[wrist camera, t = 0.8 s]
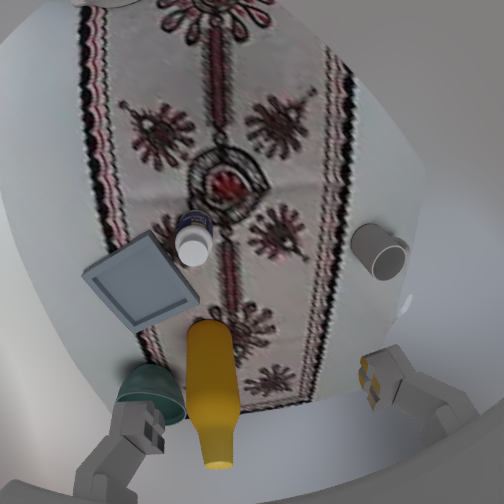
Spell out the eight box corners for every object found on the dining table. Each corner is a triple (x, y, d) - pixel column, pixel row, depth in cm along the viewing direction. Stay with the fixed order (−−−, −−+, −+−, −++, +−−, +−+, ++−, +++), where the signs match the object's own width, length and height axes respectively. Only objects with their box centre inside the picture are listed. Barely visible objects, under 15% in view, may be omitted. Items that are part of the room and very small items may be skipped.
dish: (84, 270, 47) (81, 276, 46) (150, 229, 46) (148, 235, 44) (135, 327, 55) (133, 333, 54) (199, 297, 54) (199, 304, 52)
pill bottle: (209, 205, 45) (209, 232, 37) (214, 236, 48) (217, 267, 40) (175, 212, 45) (169, 239, 37) (183, 241, 48) (178, 274, 39)
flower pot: (195, 365, 63) (196, 404, 54) (174, 398, 69) (174, 432, 60) (129, 345, 58) (121, 384, 48) (116, 381, 64) (110, 416, 54)
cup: (349, 227, 51) (372, 250, 43) (394, 217, 51) (420, 237, 44) (349, 260, 54) (370, 286, 47) (392, 249, 55) (415, 272, 47)
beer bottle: (194, 352, 61) (198, 475, 36) (181, 322, 56) (178, 458, 31) (235, 344, 61) (254, 469, 36) (225, 314, 56) (243, 452, 31)
